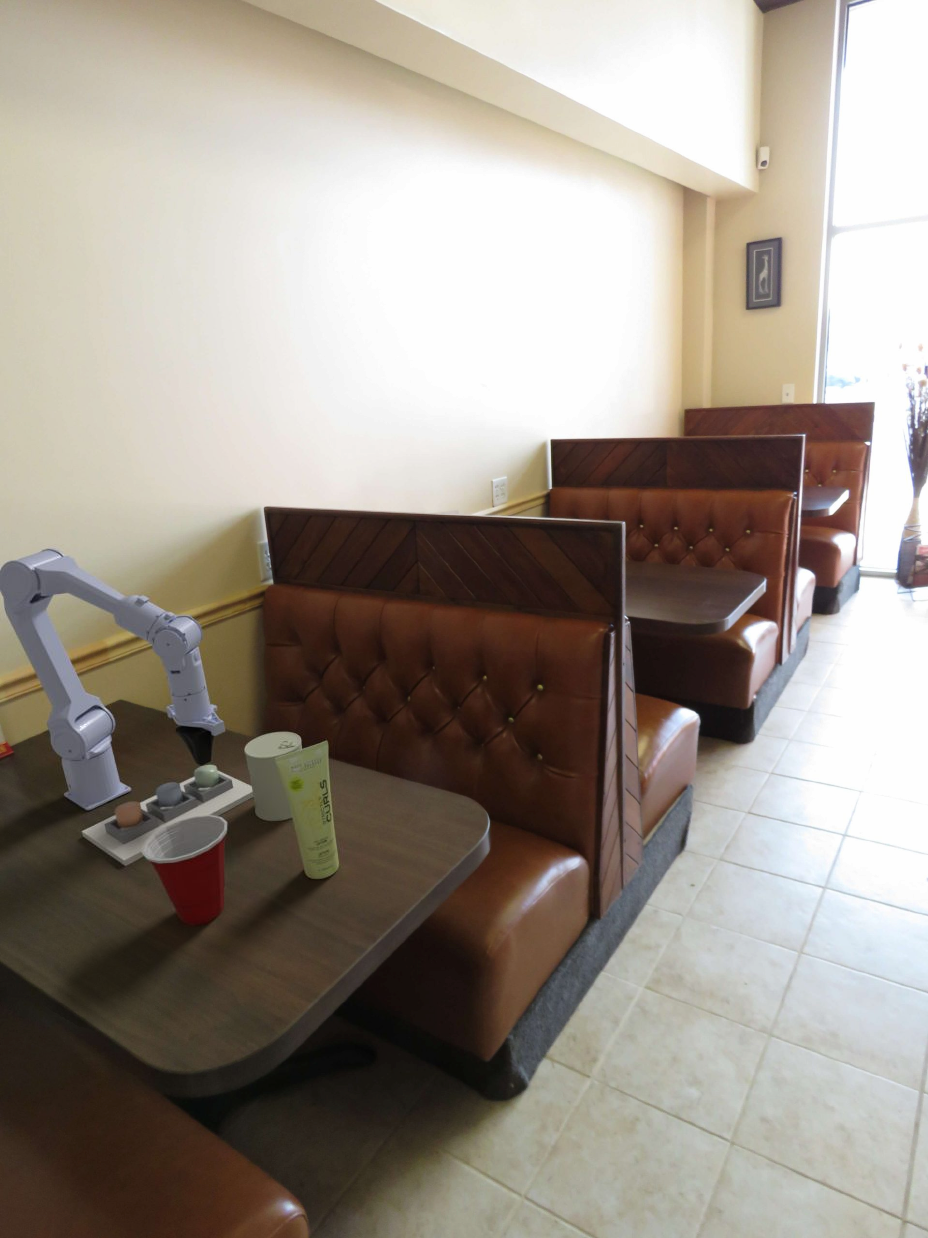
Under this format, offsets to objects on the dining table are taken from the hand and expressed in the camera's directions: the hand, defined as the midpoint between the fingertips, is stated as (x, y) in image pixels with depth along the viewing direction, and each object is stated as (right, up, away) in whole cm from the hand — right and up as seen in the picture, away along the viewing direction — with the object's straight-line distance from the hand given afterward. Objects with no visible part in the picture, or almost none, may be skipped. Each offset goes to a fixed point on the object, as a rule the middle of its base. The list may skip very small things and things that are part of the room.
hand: (204, 762), depth 128 cm
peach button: (-9, -8, -9) cm, 15 cm away
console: (-4, -8, -3) cm, 10 cm away
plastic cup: (+9, -15, -27) cm, 32 cm away
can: (+14, -7, -3) cm, 16 cm away
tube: (+24, -12, -21) cm, 34 cm away
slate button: (-4, -6, -4) cm, 8 cm away
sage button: (0, -4, +1) cm, 4 cm away
